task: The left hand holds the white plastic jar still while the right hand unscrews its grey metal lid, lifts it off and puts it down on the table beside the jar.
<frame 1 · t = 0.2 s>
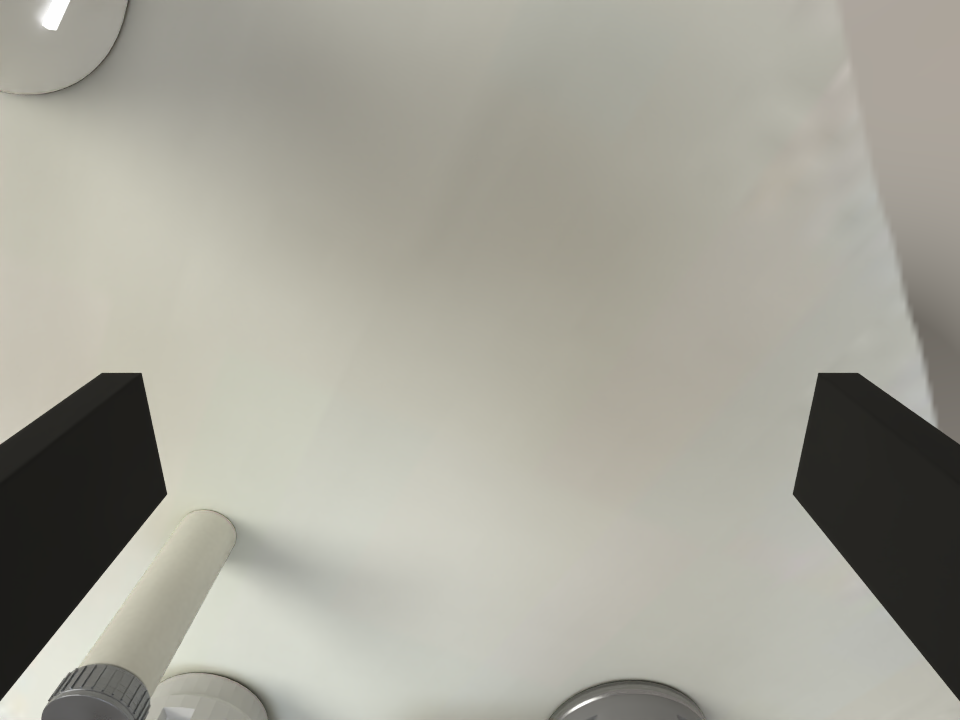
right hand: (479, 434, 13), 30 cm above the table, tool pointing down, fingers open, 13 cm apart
jar: (208, 533, 50), on the table
flag stand: (208, 715, 58), on the table
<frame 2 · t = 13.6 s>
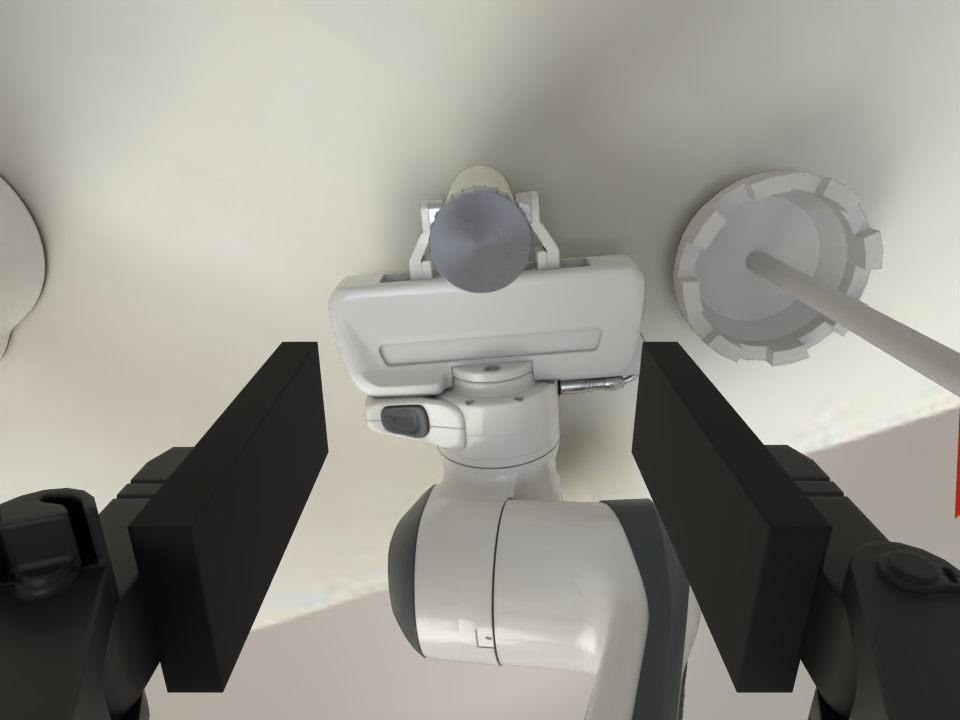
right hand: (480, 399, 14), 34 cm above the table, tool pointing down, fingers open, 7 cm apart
left hand: (478, 196, 39), fingers closed on jar, 4 cm apart
lid: (480, 242, 31), point 16 cm above the table, screwed on, not yet turned
jar: (480, 197, 46), on the table, touching left hand
flag stand: (749, 257, 47), on the table
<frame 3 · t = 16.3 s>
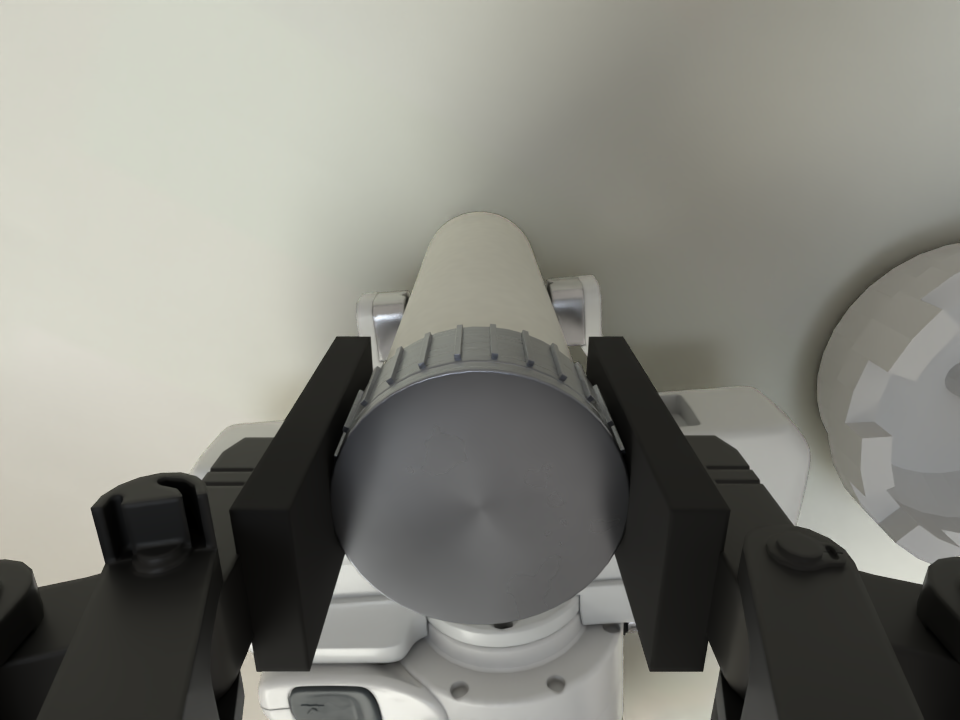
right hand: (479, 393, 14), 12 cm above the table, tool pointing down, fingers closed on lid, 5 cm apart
lid: (479, 496, 11), point 16 cm above the table, screwed on, not yet turned, touching right hand
jar: (479, 267, 26), on the table, touching left hand
flag stand: (944, 366, 27), on the table
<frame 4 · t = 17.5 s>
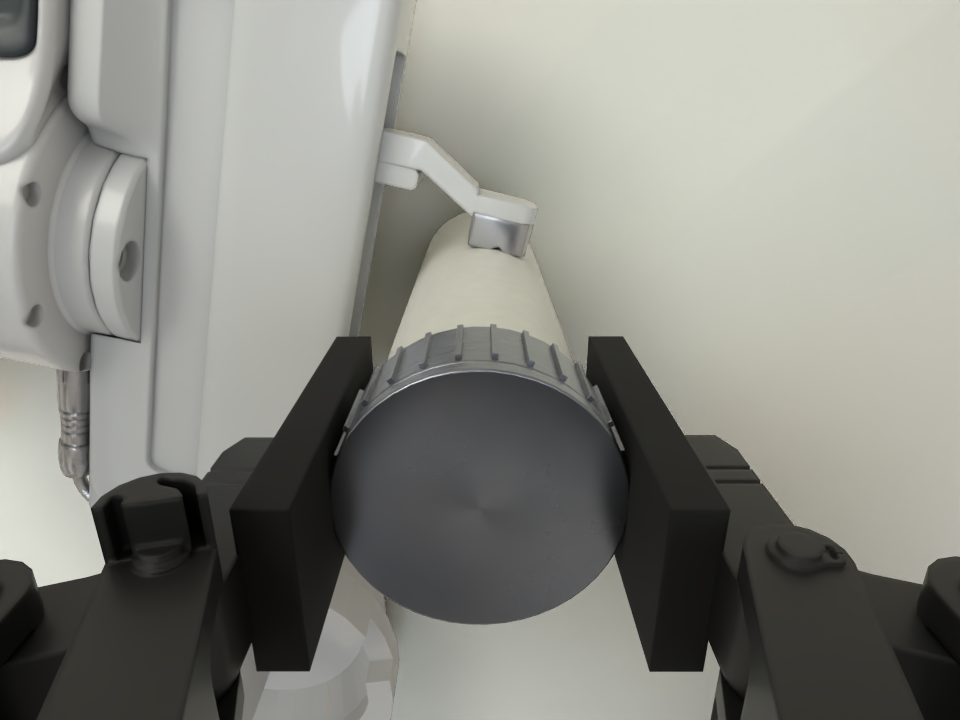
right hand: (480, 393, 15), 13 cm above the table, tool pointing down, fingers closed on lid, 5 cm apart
left hand: (507, 317, 20), fingers closed on jar, 4 cm apart
lid: (479, 496, 11), point 17 cm above the table, off its thread, touching right hand
jar: (479, 265, 26), on the table, touching left hand
flag stand: (279, 604, 33), on the table
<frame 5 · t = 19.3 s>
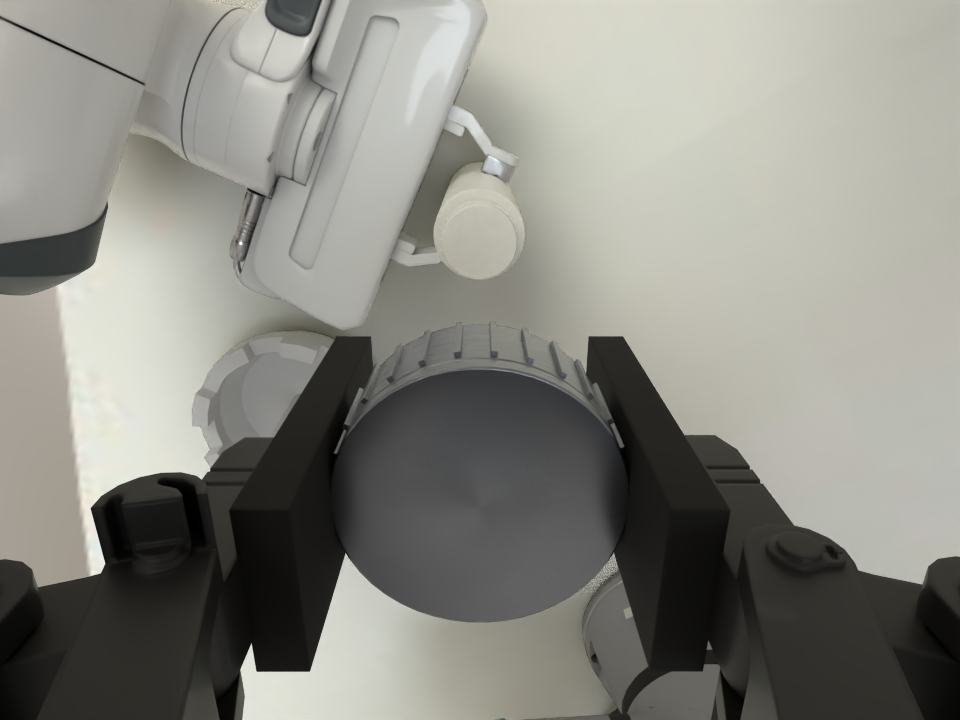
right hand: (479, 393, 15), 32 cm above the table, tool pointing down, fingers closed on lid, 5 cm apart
left hand: (493, 215, 38), fingers closed on jar, 4 cm apart
lid: (479, 494, 11), point 36 cm above the table, off its thread, touching right hand
jar: (479, 195, 44), on the table, touching left hand
flag stand: (306, 396, 50), on the table
when the right hand's fingers open (0 cm above the table, at t = 24.9 s): lid drops 3 cm, point 2 cm above the table.
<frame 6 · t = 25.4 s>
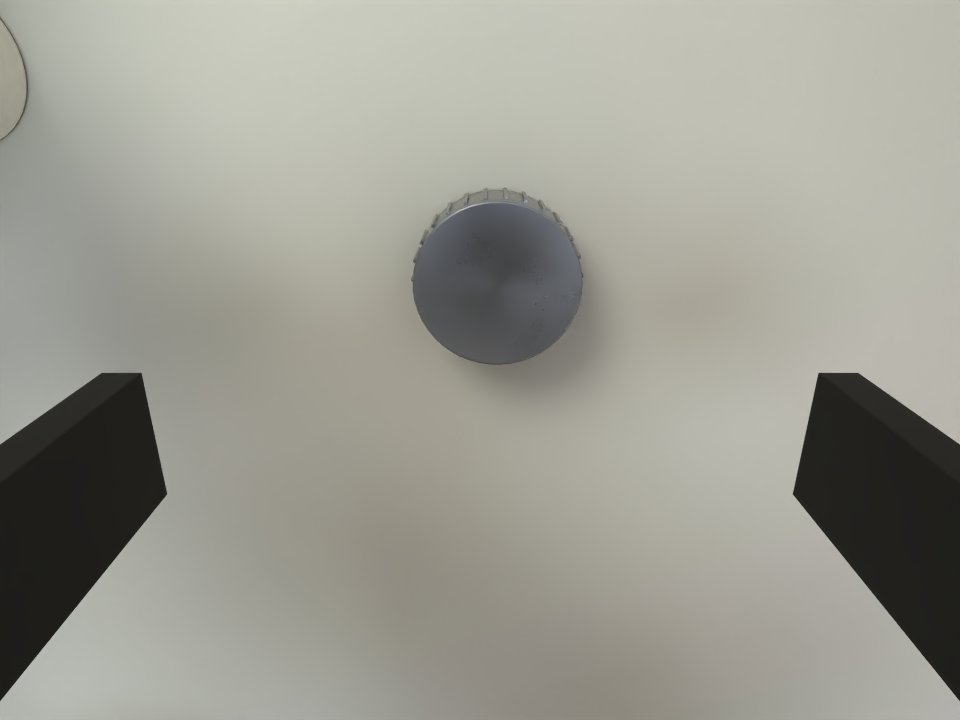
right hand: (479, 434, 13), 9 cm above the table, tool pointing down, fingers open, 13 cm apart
lid: (497, 283, 19), point 2 cm above the table, off its thread
when the left hand's fingers open (7 cm above the table, at t = 25.5 s): jar stays where it is, on the table.
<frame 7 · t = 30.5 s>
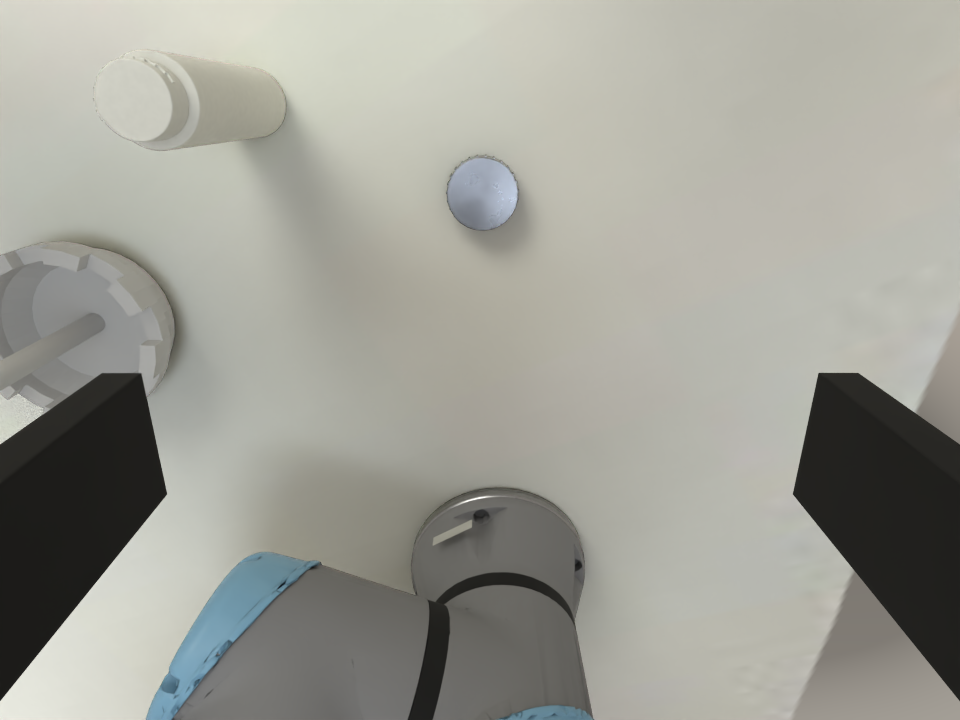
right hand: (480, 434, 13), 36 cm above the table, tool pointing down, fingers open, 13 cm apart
lid: (482, 194, 44), point 2 cm above the table, off its thread
jar: (253, 103, 44), on the table
flag stand: (103, 317, 49), on the table
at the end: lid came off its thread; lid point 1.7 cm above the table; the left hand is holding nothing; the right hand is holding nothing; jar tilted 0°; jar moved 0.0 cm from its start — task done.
